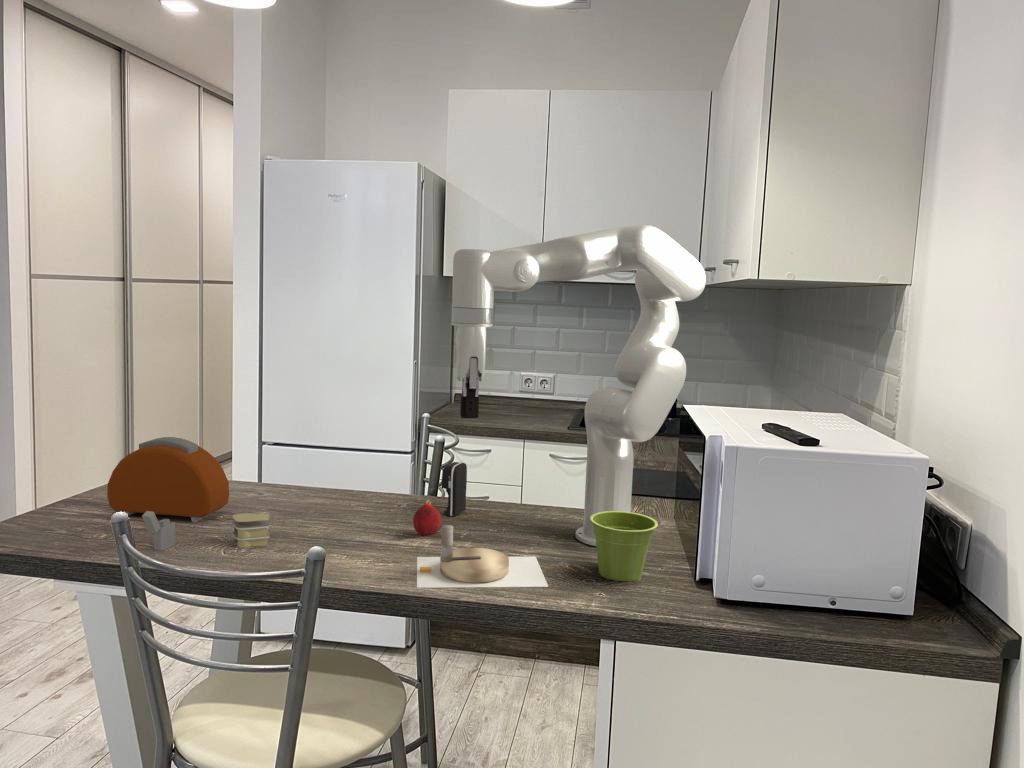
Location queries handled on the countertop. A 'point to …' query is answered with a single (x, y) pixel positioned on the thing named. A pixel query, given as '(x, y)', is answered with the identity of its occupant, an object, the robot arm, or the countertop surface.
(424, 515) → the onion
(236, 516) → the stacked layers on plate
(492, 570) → the capstan dial
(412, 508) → the countertop surface
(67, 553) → the countertop surface
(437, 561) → the stand
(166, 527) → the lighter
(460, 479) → the battery charger
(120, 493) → the orange toaster
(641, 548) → the plant pot
